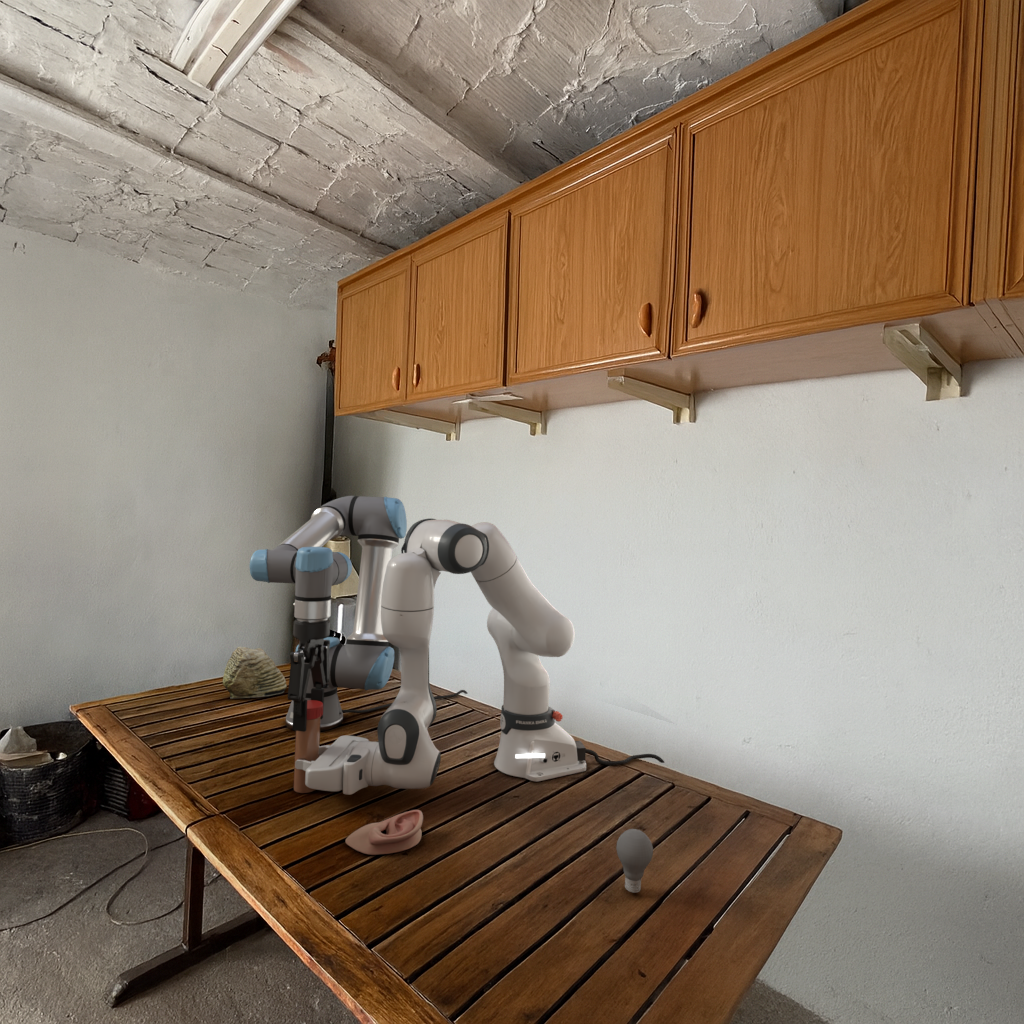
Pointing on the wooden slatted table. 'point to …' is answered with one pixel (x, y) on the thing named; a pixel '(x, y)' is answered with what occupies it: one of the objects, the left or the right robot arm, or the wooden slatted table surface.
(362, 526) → the left robot arm
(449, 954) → the wooden slatted table surface
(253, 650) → the fossil
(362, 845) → the anatomical model
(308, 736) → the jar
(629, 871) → the light bulb
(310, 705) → the lid
